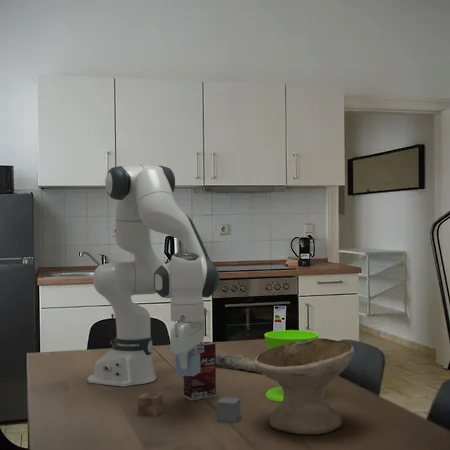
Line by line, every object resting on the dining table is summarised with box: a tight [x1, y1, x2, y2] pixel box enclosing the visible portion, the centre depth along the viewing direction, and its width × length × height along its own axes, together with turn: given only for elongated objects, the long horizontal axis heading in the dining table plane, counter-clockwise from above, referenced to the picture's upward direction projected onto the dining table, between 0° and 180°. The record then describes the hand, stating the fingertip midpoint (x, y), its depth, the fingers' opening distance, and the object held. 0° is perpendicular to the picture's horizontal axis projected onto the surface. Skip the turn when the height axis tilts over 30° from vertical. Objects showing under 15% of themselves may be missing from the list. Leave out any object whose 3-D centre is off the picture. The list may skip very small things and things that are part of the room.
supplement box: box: [183, 341, 217, 402], centre depth 197 cm, size 9×5×16 cm, turn 120°
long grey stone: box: [216, 352, 264, 375], centre depth 235 cm, size 35×5×10 cm
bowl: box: [254, 337, 355, 436], centre depth 169 cm, size 26×25×20 cm
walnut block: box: [137, 392, 163, 418], centre depth 181 cm, size 5×5×5 cm
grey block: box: [216, 396, 241, 423], centre depth 175 cm, size 5×5×5 cm
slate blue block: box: [175, 353, 200, 377], centre depth 178 cm, size 5×5×5 cm
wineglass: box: [263, 329, 320, 403], centre depth 197 cm, size 16×16×18 cm
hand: (188, 365), depth 178 cm, fingers closed on slate blue block, 5 cm apart
